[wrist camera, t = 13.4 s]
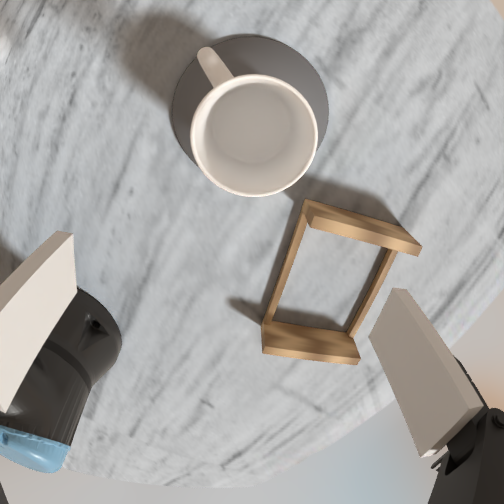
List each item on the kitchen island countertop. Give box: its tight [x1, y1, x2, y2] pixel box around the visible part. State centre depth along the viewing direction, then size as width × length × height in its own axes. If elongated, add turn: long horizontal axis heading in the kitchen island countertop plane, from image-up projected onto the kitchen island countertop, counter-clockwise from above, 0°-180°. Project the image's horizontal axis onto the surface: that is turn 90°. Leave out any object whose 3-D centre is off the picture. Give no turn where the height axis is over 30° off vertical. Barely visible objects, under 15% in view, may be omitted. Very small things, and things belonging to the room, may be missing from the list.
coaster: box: [172, 37, 329, 167], centre depth 28 cm, size 15×15×1 cm
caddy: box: [261, 199, 422, 365], centre depth 35 cm, size 13×17×5 cm
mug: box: [190, 47, 318, 197], centre depth 23 cm, size 12×8×10 cm
